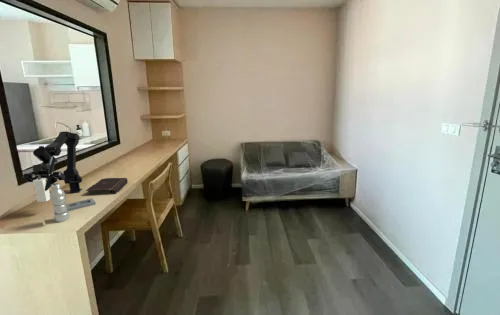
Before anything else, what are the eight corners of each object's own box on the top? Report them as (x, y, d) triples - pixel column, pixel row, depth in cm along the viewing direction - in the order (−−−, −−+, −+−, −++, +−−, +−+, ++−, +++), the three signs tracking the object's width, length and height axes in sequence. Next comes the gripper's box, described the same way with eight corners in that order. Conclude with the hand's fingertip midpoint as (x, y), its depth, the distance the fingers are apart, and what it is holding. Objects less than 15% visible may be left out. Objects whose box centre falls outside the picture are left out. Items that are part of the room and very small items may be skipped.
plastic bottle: (59, 225, 136) (51, 187, 131) (52, 222, 139) (44, 185, 134) (72, 220, 142) (65, 183, 137) (65, 217, 145) (58, 181, 140)
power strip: (63, 214, 149) (62, 209, 148) (61, 209, 154) (60, 204, 154) (96, 205, 159) (95, 201, 158) (92, 202, 165) (92, 197, 164)
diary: (128, 183, 199) (127, 177, 198) (116, 196, 175) (115, 189, 174) (101, 184, 197) (100, 178, 195) (85, 197, 173) (84, 190, 171)
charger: (37, 202, 147) (32, 178, 143) (41, 199, 150) (36, 175, 147) (46, 201, 147) (41, 177, 144) (50, 198, 151) (45, 175, 148)
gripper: (20, 159, 146) (11, 185, 138) (58, 157, 148) (51, 183, 141) (32, 169, 155) (24, 194, 147) (68, 167, 158) (62, 192, 150)
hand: (40, 190), depth 146 cm, fingers closed on charger, 4 cm apart
